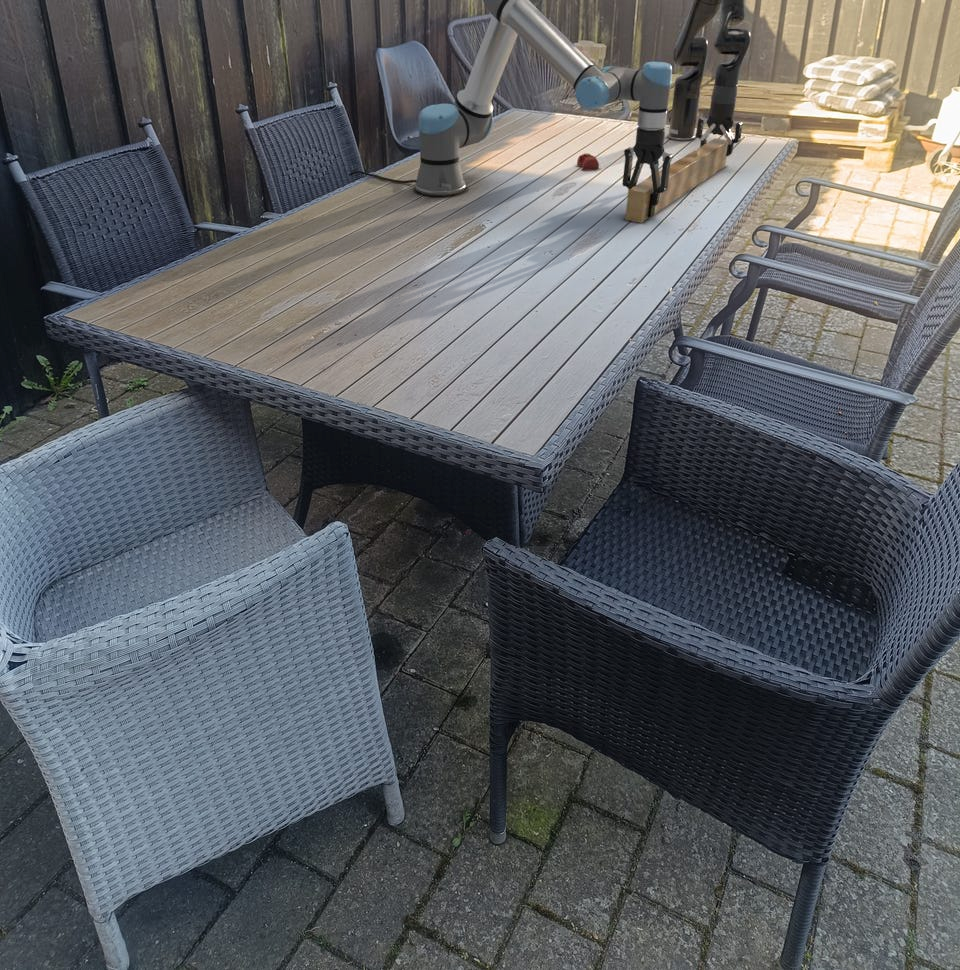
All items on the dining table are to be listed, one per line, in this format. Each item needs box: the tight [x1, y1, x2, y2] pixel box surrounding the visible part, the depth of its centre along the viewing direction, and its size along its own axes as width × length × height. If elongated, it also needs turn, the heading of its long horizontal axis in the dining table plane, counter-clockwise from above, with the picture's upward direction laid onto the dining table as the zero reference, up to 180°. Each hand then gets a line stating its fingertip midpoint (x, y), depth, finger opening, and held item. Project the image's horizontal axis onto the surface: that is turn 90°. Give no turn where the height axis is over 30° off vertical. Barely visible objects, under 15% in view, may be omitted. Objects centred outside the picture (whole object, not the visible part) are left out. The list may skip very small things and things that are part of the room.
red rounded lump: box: [576, 152, 600, 171], centre depth 277 cm, size 6×4×8 cm
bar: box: [625, 138, 729, 224], centre depth 255 cm, size 68×5×8 cm, turn 147°
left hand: (641, 214), depth 238 cm, fingers closed on bar, 5 cm apart
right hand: (715, 154), depth 274 cm, fingers open, 8 cm apart
